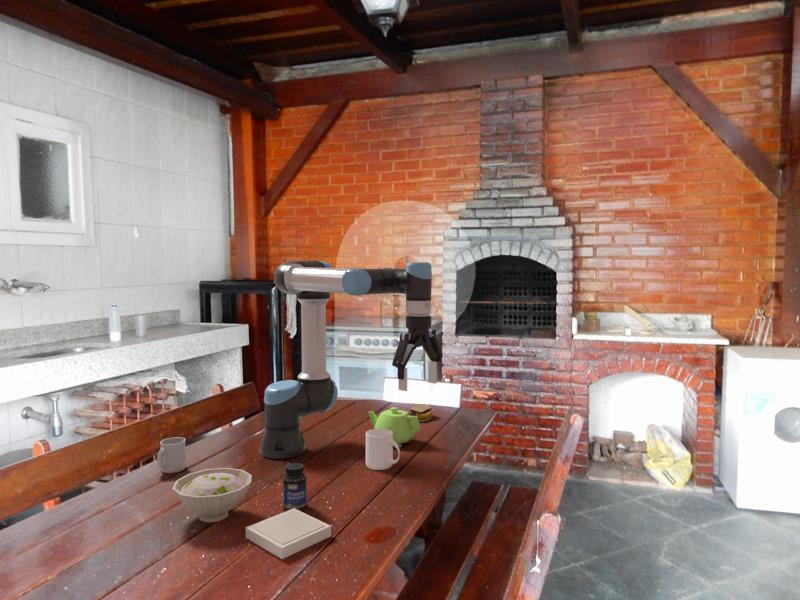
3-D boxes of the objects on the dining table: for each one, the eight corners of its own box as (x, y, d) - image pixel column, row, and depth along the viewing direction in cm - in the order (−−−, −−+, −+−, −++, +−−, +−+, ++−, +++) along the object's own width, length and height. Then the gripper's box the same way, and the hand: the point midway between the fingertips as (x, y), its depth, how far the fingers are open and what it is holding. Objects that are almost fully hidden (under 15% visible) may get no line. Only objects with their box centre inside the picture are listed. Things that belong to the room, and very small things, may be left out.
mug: (391, 475, 170) (391, 440, 170) (360, 467, 177) (360, 433, 176) (406, 466, 178) (407, 433, 177) (376, 459, 184) (376, 427, 184)
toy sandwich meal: (395, 418, 233) (395, 407, 233) (420, 413, 242) (420, 402, 241) (414, 425, 224) (414, 413, 223) (439, 419, 232) (440, 408, 231)
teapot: (360, 443, 200) (360, 408, 199) (378, 433, 212) (378, 400, 211) (411, 452, 191) (411, 415, 190) (426, 441, 203) (427, 406, 202)
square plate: (245, 537, 131) (245, 526, 131) (294, 517, 142) (294, 507, 141) (281, 559, 122) (281, 547, 122) (330, 536, 132) (330, 525, 132)
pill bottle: (286, 514, 144) (286, 471, 143) (280, 504, 149) (279, 464, 148) (309, 509, 147) (309, 467, 146) (302, 500, 152) (302, 460, 151)
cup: (190, 466, 177) (190, 438, 176) (167, 478, 167) (167, 448, 167) (172, 463, 179) (171, 436, 179) (148, 474, 170) (147, 445, 169)
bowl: (208, 541, 129) (207, 499, 129) (156, 521, 140) (155, 481, 139) (269, 510, 146) (268, 473, 145) (218, 494, 156) (218, 458, 155)
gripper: (399, 318, 153) (399, 395, 154) (454, 312, 171) (453, 381, 173) (379, 316, 158) (379, 391, 159) (434, 311, 176) (434, 378, 178)
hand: (418, 386), depth 166 cm, fingers open, 13 cm apart
